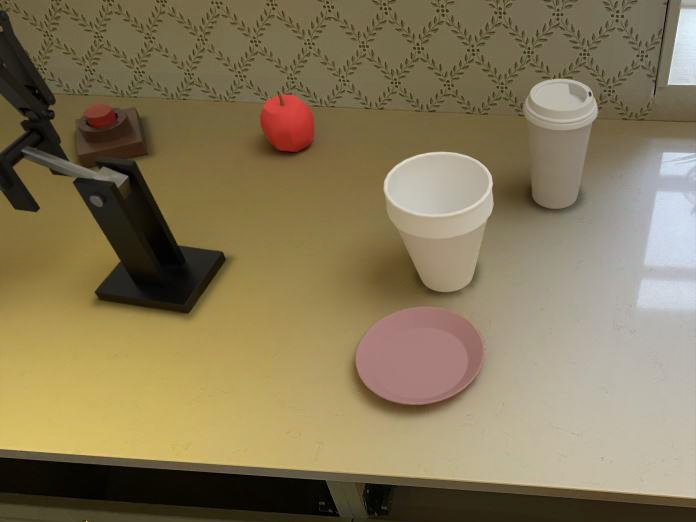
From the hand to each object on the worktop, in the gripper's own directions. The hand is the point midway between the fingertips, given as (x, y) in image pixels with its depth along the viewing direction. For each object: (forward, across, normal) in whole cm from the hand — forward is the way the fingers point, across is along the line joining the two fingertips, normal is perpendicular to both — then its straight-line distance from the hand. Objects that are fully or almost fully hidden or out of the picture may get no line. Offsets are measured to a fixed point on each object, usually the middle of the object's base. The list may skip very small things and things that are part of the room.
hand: (46, 190), depth 74 cm
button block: (+12, +27, +15) cm, 33 cm away
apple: (+12, +32, -13) cm, 37 cm away
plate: (+12, -7, -45) cm, 47 cm away
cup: (+12, +8, -44) cm, 47 cm away
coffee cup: (+12, +27, -55) cm, 63 cm away
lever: (-2, 0, -4) cm, 5 cm away
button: (+8, +27, +15) cm, 32 cm away
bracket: (+12, 0, -9) cm, 15 cm away
